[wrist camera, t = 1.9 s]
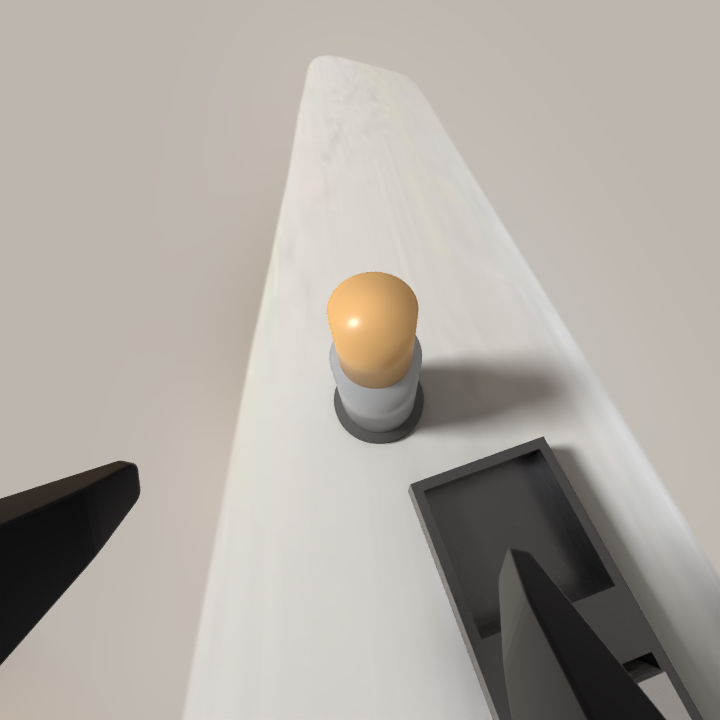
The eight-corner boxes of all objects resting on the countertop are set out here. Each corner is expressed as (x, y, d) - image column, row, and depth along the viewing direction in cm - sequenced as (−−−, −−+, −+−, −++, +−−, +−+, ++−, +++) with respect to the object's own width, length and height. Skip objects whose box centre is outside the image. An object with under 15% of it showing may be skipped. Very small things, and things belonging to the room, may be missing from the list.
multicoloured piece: (355, 443, 23) (333, 375, 14) (334, 378, 25) (303, 282, 16) (425, 418, 23) (448, 337, 14) (399, 356, 25) (404, 250, 16)
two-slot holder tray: (567, 920, 15) (617, 1021, 11) (408, 490, 22) (411, 481, 19) (738, 838, 15) (828, 913, 12) (527, 447, 22) (550, 431, 19)
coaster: (350, 456, 23) (349, 455, 23) (324, 375, 25) (323, 373, 25) (437, 426, 23) (437, 424, 23) (403, 349, 26) (404, 347, 25)
